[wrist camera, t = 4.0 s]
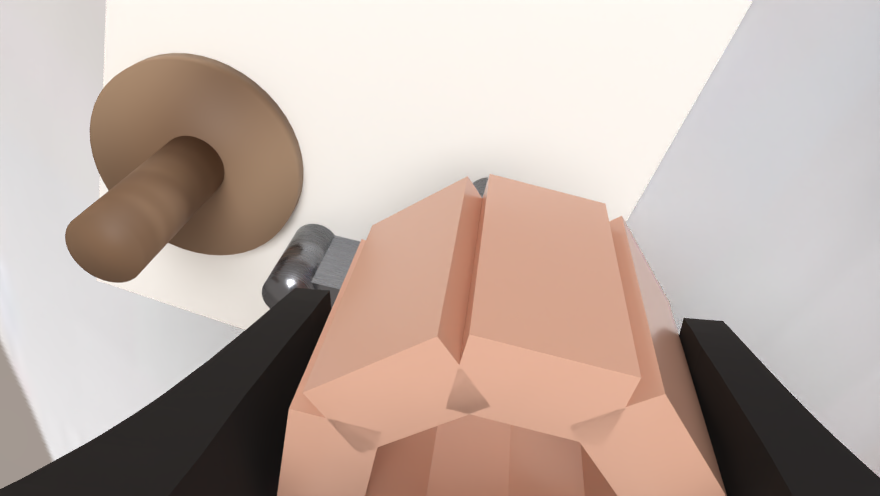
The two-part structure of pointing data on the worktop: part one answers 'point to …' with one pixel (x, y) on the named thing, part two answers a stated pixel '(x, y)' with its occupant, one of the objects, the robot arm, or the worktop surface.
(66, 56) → the worktop surface
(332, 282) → the grey mechanical part
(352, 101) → the board
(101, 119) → the peg
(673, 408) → the ring
